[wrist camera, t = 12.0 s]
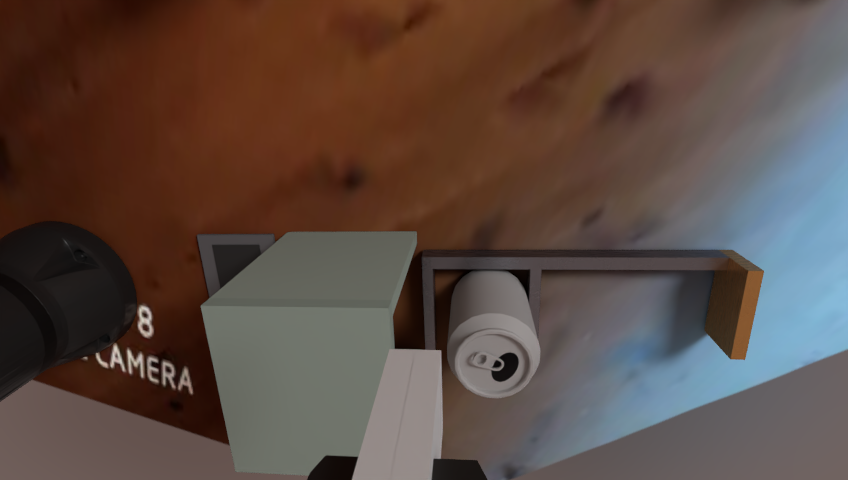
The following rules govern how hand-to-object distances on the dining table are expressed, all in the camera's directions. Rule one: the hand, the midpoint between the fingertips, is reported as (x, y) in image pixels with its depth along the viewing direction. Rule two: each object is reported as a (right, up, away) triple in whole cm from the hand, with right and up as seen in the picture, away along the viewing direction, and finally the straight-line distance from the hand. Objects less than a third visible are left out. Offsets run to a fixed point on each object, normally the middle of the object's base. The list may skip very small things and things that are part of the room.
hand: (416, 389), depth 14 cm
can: (+7, -1, +34) cm, 35 cm away
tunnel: (-7, -2, +35) cm, 36 cm away
